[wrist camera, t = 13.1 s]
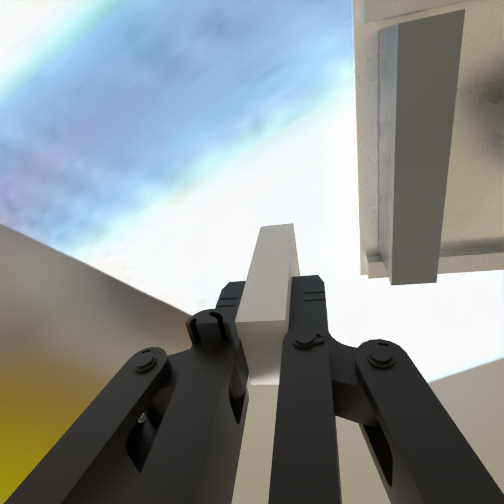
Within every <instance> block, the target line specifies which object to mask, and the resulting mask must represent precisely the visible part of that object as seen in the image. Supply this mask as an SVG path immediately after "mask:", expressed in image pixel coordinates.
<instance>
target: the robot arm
mask: <svg viewBox="0 0 504 504" xmlns="http://www.w3.org/2000/svg"><path fill="white" fill-rule="evenodd" d="M186 327H187V330H188V333H189V336H190V338H191V341H192V347H191V348H190V349H188V350H186V351H183V352H179V353H176V354H173V355H169V356H167V354H166V352H165V351H164V350H163V349H161V348H159V347H150V348H146V349H143V350H141V351H139V352H137V353H136V354H134V355H133V356H132V357H131V358H130V359H129V360H128V361H127V362H126V363H125V364H124V366H123V367H122V368H121V369H120V370H119V371H118V373H117V374H116V375H115V376H114V377H113V378H112V379H111V381H110V382H109V383H108V384H107V385H106V387H105V388H104V389H103V390H102V391H101V392H100V393H99V395H98V396H97V397H96V398H95V399H94V400H93V402H91V404H90V405H89V406H88V407H87V408H86V409H85V411H84V412H83V413H82V414H81V415H80V416H79V417H78V419H77V420H76V421H75V422H74V423H73V424H72V426H71V427H70V428H69V429H68V430H67V431H66V432H65V434H64V435H63V436H62V437H61V438H60V439H59V440H58V442H57V443H56V444H55V445H54V446H53V448H52V449H51V450H50V451H49V452H48V453H47V455H45V457H44V458H43V459H42V460H41V461H40V462H39V464H38V465H37V466H36V467H35V468H34V469H33V470H32V472H31V473H30V474H29V475H28V476H27V477H26V478H25V480H24V481H23V482H22V483H21V484H20V485H19V487H18V488H17V489H16V490H15V491H14V492H13V493H12V495H11V496H10V497H9V498H8V499H7V501H6V502H5V503H4V504H231V502H232V496H233V490H234V484H235V478H236V472H237V466H238V460H239V455H240V449H241V442H242V437H243V431H244V425H245V418H246V412H247V407H248V401H249V395H248V390H247V386H246V385H247V379H248V374H249V378H250V381H251V384H279V390H278V401H277V411H276V424H275V434H274V445H273V457H272V469H271V479H270V490H269V503H268V504H342V496H341V485H340V484H341V483H340V471H339V458H338V444H337V432H336V418H335V416H339V417H342V418H345V419H348V420H351V421H354V422H357V423H359V426H360V429H361V431H362V434H363V436H364V438H365V441H366V443H367V446H368V448H369V451H370V453H371V456H372V458H373V461H374V463H375V465H376V468H377V470H378V473H379V475H380V478H381V480H382V483H383V485H384V488H385V490H386V492H387V495H388V497H389V500H390V502H391V504H504V494H503V493H502V491H501V490H500V488H499V487H498V485H497V484H496V483H495V481H494V480H493V478H492V477H491V475H490V474H489V473H488V471H487V470H486V468H485V467H484V465H483V464H482V462H481V461H480V459H479V458H478V456H477V455H476V454H475V452H474V451H473V449H472V448H471V446H470V445H469V443H468V442H467V441H466V439H465V437H464V436H463V435H462V433H461V432H460V430H459V429H458V427H457V426H456V424H455V423H454V421H453V420H452V419H451V417H450V416H449V414H448V413H447V411H446V410H445V408H444V407H443V406H442V404H441V403H440V401H439V400H438V398H437V397H436V395H435V394H434V393H433V391H432V389H431V388H430V387H429V385H428V384H427V382H426V381H425V379H424V378H423V376H422V375H421V373H420V372H419V371H418V369H417V368H416V366H415V365H414V363H413V362H412V360H411V359H410V357H409V356H408V355H407V353H406V352H405V351H404V350H403V349H402V348H401V347H400V346H399V345H397V344H395V343H393V342H391V341H386V340H381V339H377V340H369V341H367V342H364V343H362V344H361V345H360V346H359V347H358V348H355V347H350V346H347V345H344V344H341V343H339V342H338V341H336V340H335V339H334V338H332V336H331V335H330V333H329V331H328V320H327V308H326V298H325V287H324V282H323V281H322V279H321V278H320V277H319V276H318V275H311V276H300V272H299V264H298V257H297V249H296V242H295V234H294V227H293V224H283V225H274V226H264V227H261V228H260V232H259V236H258V239H257V243H256V247H255V250H254V254H253V258H252V261H251V265H250V269H249V272H248V276H247V279H246V281H239V282H229V283H228V284H227V285H226V286H225V287H224V288H223V289H222V291H221V294H220V296H219V300H218V302H217V304H216V308H215V309H208V310H203V311H201V312H198V313H196V314H195V315H193V316H192V317H191V318H189V320H188V321H187V323H186ZM143 413H144V415H143V416H142V414H143ZM141 416H142V417H141ZM140 417H141V418H140ZM139 418H140V419H139Z"/></svg>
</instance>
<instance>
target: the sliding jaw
mask: <svg viewBox="0 0 504 504" xmlns="http://www.w3.org/2000/svg"><path fill="white" fill-rule="evenodd" d="M464 18H465V9H462V10H458V11H453V12H448V13H444V14H439V15H435V16H430V17H425V18H421V19H416V20H412V21H407V22H402V23H398V24H395V25H392V26H389V27H386V28H383V29H380V30H379V253H380V256H381V259H382V261H383V264H384V267H385V269H386V272H387V275H388V278H389V280H390V283H391V285H405V284H421V283H436V282H437V272H438V263H439V253H440V244H441V234H442V225H443V216H444V206H445V197H446V187H447V178H448V168H449V159H450V150H451V140H452V131H453V121H454V112H455V102H456V93H457V84H458V74H459V65H460V55H461V46H462V36H463V27H464Z"/></svg>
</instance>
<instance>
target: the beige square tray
mask: <svg viewBox="0 0 504 504" xmlns="http://www.w3.org/2000/svg"><path fill="white" fill-rule="evenodd" d="M462 9H465V18H464V27H463V36H462V46H461V55H460V65H459V74H458V84H457V93H456V102H455V112H454V121H453V131H452V140H451V150H450V159H449V168H448V178H447V187H446V197H445V206H444V216H443V225H442V234H441V244H440V253H439V263H438V272H437V274H443V273H458V272H473V271H489V270H504V0H350V10H351V42H352V74H353V106H354V138H355V170H356V202H357V234H358V266H359V270H360V274H361V275H365V274H367V275H368V278H382V277H388V275H387V272H386V269H385V267H384V264H383V261H382V259H381V256H380V253H379V30H380V29H383V28H386V27H389V26H392V25H395V24H398V23H402V22H407V21H412V20H416V19H421V18H425V17H430V16H435V15H439V14H444V13H448V12H453V11H458V10H462Z"/></svg>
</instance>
